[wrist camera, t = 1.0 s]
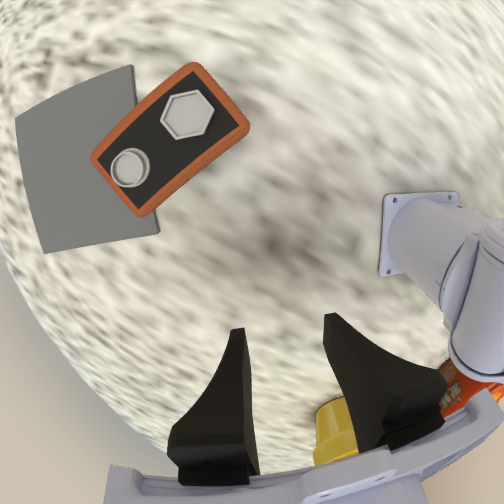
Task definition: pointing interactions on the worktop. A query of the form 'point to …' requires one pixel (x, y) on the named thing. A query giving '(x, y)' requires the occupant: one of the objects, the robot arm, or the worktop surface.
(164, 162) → the battery
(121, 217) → the mat
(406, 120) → the worktop surface
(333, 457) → the plant pot
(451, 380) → the food container
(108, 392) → the worktop surface
